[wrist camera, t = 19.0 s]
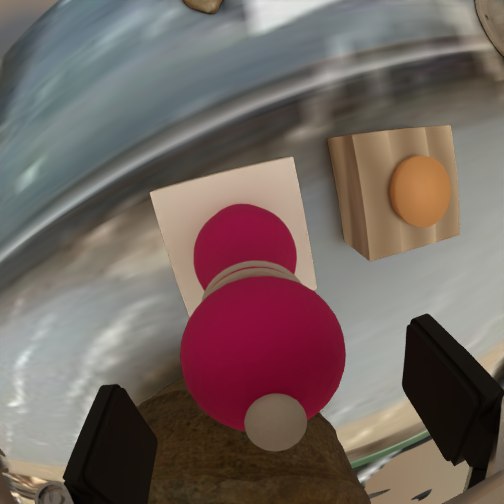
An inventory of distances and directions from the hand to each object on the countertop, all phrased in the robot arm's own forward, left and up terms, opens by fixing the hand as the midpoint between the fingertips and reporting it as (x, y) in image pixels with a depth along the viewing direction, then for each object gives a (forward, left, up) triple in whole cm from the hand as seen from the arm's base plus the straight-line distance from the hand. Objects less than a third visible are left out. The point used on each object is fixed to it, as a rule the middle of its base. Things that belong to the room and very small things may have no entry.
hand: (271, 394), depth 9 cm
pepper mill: (0, 0, -18) cm, 18 cm away
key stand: (-15, -2, -20) cm, 25 cm away
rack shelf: (0, 0, -20) cm, 20 cm away
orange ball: (-15, -2, -20) cm, 25 cm away
